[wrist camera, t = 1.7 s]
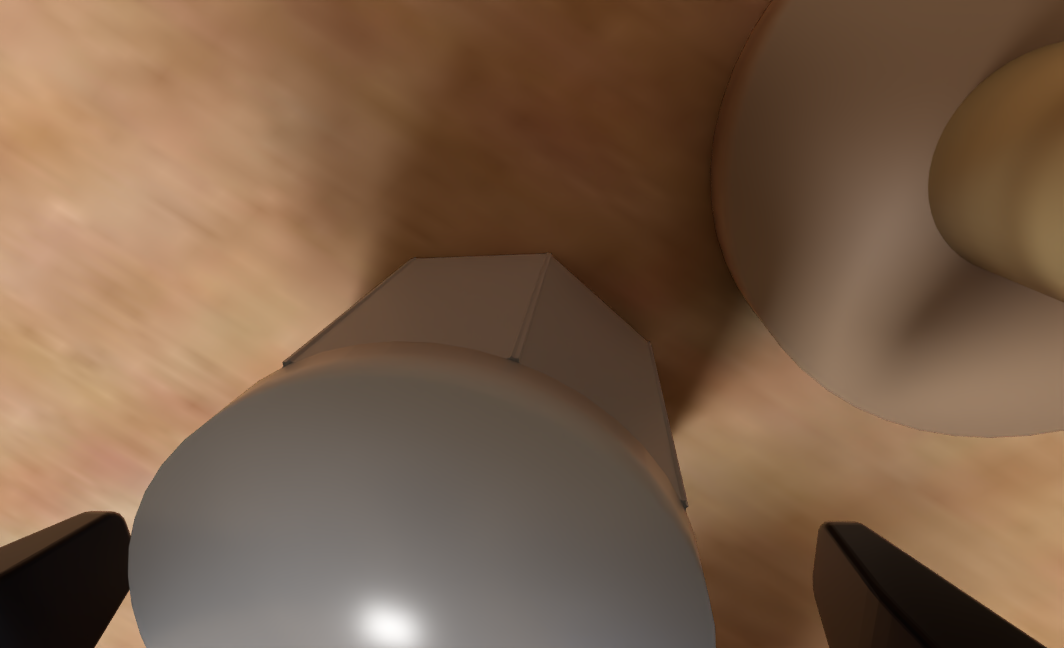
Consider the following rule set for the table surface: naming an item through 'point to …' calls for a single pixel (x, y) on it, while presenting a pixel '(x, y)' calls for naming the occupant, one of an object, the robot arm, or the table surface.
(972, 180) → the stub
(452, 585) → the cap
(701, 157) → the table surface
